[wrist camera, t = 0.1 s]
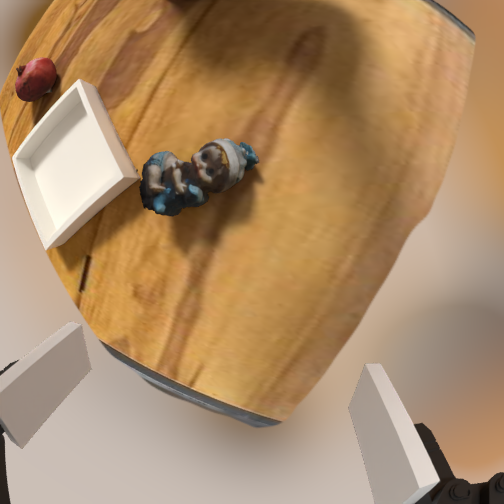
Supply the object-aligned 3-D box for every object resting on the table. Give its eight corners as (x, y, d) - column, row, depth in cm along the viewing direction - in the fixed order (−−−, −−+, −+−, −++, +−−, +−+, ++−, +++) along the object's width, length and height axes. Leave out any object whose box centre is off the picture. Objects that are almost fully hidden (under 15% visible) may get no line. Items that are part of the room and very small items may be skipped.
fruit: (53, 104, 34) (18, 95, 25) (28, 104, 34) (-4, 97, 25) (70, 62, 32) (38, 46, 23) (43, 65, 32) (13, 53, 23)
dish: (29, 158, 37) (12, 157, 32) (95, 86, 34) (79, 78, 29) (63, 244, 40) (45, 250, 35) (140, 177, 37) (123, 177, 32)
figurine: (129, 152, 30) (242, 114, 27) (161, 170, 38) (258, 143, 35) (131, 217, 30) (254, 186, 27) (166, 225, 38) (268, 203, 35)
